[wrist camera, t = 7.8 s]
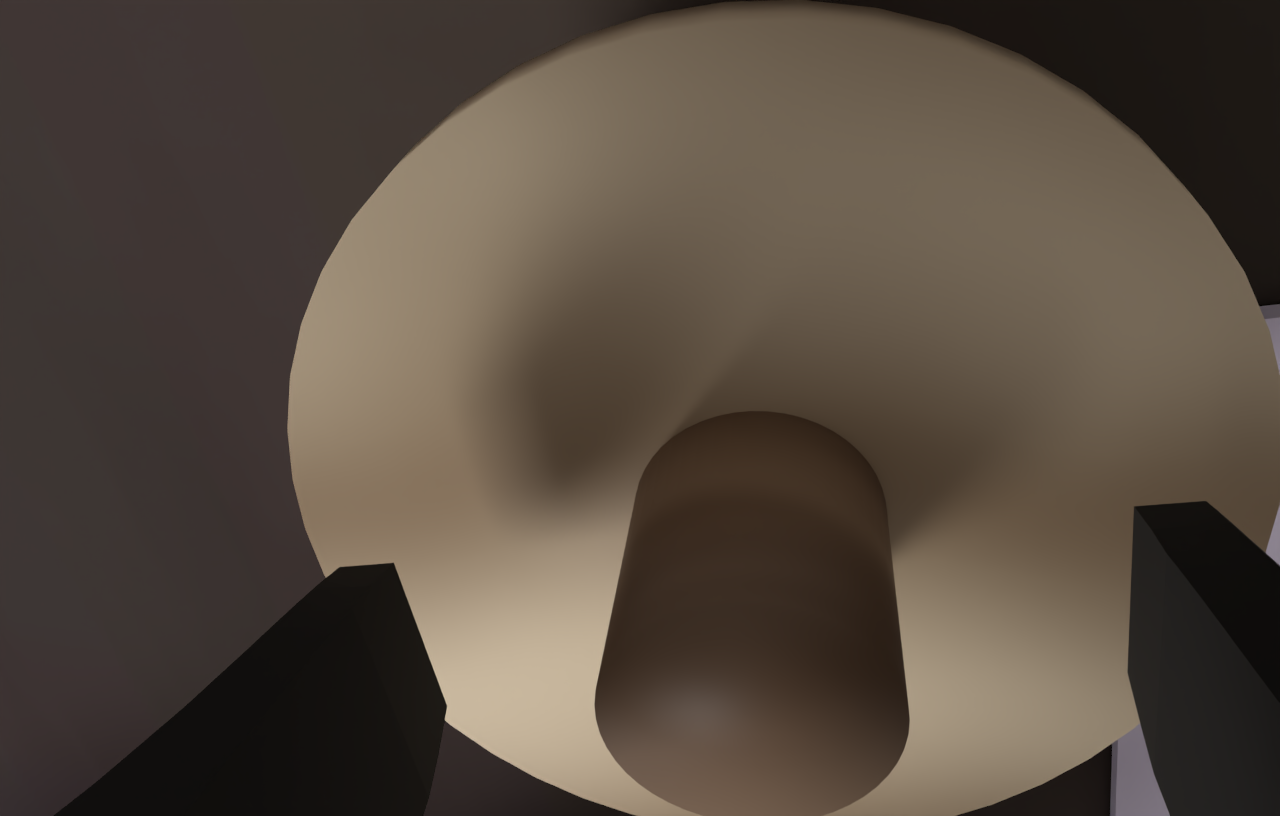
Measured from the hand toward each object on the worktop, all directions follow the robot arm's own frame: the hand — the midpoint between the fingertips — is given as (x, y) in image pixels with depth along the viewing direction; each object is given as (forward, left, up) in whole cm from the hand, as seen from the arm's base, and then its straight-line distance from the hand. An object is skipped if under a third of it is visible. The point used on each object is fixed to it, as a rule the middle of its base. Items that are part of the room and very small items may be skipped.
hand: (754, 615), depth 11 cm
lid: (0, 0, -3) cm, 3 cm away
